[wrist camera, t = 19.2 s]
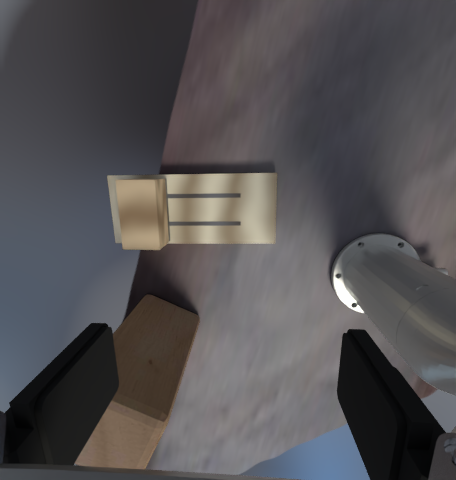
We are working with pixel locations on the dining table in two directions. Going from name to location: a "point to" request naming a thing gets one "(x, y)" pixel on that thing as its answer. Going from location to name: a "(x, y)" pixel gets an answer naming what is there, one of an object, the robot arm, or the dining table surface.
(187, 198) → the birch plank
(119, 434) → the wooden block
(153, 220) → the block
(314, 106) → the dining table surface
